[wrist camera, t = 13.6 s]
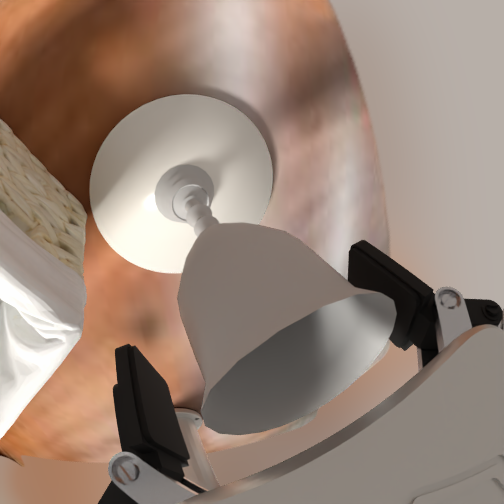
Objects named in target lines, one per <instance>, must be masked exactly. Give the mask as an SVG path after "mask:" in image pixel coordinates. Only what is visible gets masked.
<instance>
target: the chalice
mask: <svg viewBox="0 0 504 504" xmlns="http://www.w3.org/2000/svg"><path fill="white" fill-rule="evenodd" d="M154 196H155V204H156V206H157V208H158V210H159V212H160V213H161V214H162V215H163V216H164V217H165V218H167V219H169V220H171V221H175V222H181V223H188V224H189V225H190V226H192V227H194V232H195V235H196V236H197V239H196V240H195V242H194V244H193V246H192V248H191V249H190V251H189V253H188V255H187V257H186V260H185V264H184V268H183V271H182V276H181V281H180V287H179V292H178V297H177V300H178V305H179V311H180V316H181V319H182V322H183V324H184V327H185V330H186V333H187V336H188V339H189V341H190V344H191V347H192V349H193V352H194V355H195V357H196V360H197V362H198V365H199V367H200V370H201V372H202V375H203V377H204V380H205V382H206V385H205V391H204V396H203V402H202V407H201V414H202V417H203V420H204V423H205V426H207V427H208V428H210V429H212V430H214V431H216V432H218V433H220V434H231V435H244V434H252V433H258V432H263V431H267V430H270V429H273V428H277V427H280V426H283V425H286V424H288V423H290V422H292V421H295V420H297V419H299V418H301V417H303V416H306V415H308V414H309V413H311V412H313V411H315V410H316V409H318V408H320V407H321V406H322V405H324V404H326V403H328V402H329V401H331V400H332V399H333V398H335V397H336V396H337V395H339V394H340V393H341V392H343V391H344V390H345V389H346V388H348V387H349V386H350V385H351V384H352V383H353V382H354V381H356V380H357V379H358V378H359V377H360V376H361V375H362V374H363V373H364V372H365V371H366V370H367V369H368V368H369V366H370V365H371V364H372V363H373V361H374V360H375V359H376V357H377V356H378V355H379V354H380V352H381V351H382V350H383V348H384V346H385V344H386V342H387V341H388V339H389V337H390V335H391V333H392V331H393V328H394V323H395V319H396V315H397V312H396V308H395V304H394V300H392V299H391V298H389V297H387V296H386V295H384V294H382V293H380V292H375V291H370V290H365V289H360V288H356V287H354V286H353V285H352V284H351V283H349V282H348V281H347V280H346V279H345V278H344V277H343V276H342V275H340V274H339V273H338V272H337V271H336V270H335V269H334V268H332V267H331V266H330V265H329V264H328V263H327V262H325V261H324V260H323V259H322V258H321V257H320V256H318V255H317V254H316V253H315V252H314V251H313V250H311V249H310V248H309V247H308V246H307V245H305V244H304V243H303V242H302V241H301V240H299V239H298V238H296V237H294V236H292V235H291V234H289V233H287V232H286V231H282V230H278V229H274V228H270V227H266V226H261V225H257V224H250V223H244V222H240V223H219V221H218V220H217V219H216V218H215V217H213V216H212V211H211V209H210V207H211V204H212V200H213V196H214V185H213V182H212V179H211V177H210V176H209V175H208V174H207V172H206V171H204V170H203V169H201V168H200V167H198V166H194V165H189V164H188V165H179V166H176V167H174V168H172V169H170V170H168V171H167V172H166V173H165V174H164V175H163V176H162V177H161V178H160V180H159V182H158V183H157V185H156V189H155V193H154Z"/></svg>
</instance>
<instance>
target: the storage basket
mask: <svg viewBox="0 0 504 504" xmlns="http://www.w3.org/2000/svg"><path fill="white" fill-rule="evenodd" d="M86 220H87V214H86V212H85V210H84V208H83V206H82V204H81V203H80V202H79V201H78V200H77V199H76V198H75V197H74V196H73V195H72V194H71V193H70V192H69V191H67V190H65V188H64V187H63V185H62V184H61V183H60V182H59V181H58V180H57V179H56V178H55V177H54V176H53V175H51V174H50V173H49V172H48V171H47V169H46V167H45V166H44V165H43V164H42V163H41V162H40V161H39V160H38V159H37V158H36V157H35V156H34V155H33V154H32V153H31V152H30V151H29V150H28V148H27V147H26V146H25V145H24V144H23V143H22V142H21V141H20V140H19V139H18V138H17V137H16V136H15V135H14V134H13V131H12V129H11V128H10V127H9V126H8V125H7V124H6V123H5V122H4V121H3V120H1V119H0V439H1V438H2V437H3V436H4V434H5V433H6V432H7V430H8V429H9V428H10V427H11V425H12V424H13V423H14V422H15V420H16V419H17V417H18V416H19V415H20V413H21V412H22V411H23V409H24V408H25V407H26V406H27V404H28V403H29V402H30V401H31V399H32V398H33V397H34V396H35V395H36V393H37V392H38V391H39V390H40V389H41V387H42V386H43V385H44V384H45V383H46V382H47V380H48V379H49V378H50V377H51V376H52V374H53V373H54V372H55V370H56V369H57V368H58V367H59V365H60V364H61V363H62V362H63V360H64V359H65V358H66V356H67V355H68V354H69V352H70V351H71V350H72V348H73V347H74V346H75V344H76V343H77V342H78V340H79V339H80V338H81V335H82V331H83V322H84V307H85V305H86V299H87V294H86V286H85V284H84V277H83V272H84V270H83V261H84V244H85V241H86V239H85V235H86V232H85V225H86Z"/></svg>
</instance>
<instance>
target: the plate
mask: <svg viewBox="0 0 504 504" xmlns="http://www.w3.org/2000/svg"><path fill="white" fill-rule="evenodd" d="M188 164H189V165H194V166H198V167H200V168H201V169H203V170H204V171H206V172H207V174H208V175H209V176H210V177H211V179H212V182H213V185H214V196H213V200H212V204H211V207H210V209H211V211H212V216H213V217H215V218H216V219H217V220H218V221H219V223H240V222H244V223H250V224H257V225H259V224H260V222H261V220H262V218H263V216H264V214H265V212H266V209H267V207H268V204H269V200H270V196H271V191H272V184H273V170H272V162H271V157H270V153H269V150H268V148H267V145H266V142H265V140H264V138H263V137H262V135H261V133H260V131H259V130H258V129H257V127H256V126H255V125H254V124H253V122H252V121H251V120H250V119H249V118H248V117H247V116H246V115H245V114H243V113H242V112H241V111H239V110H238V109H236V108H235V107H233V106H232V105H230V104H228V103H226V102H224V101H221V100H218V99H215V98H212V97H208V96H203V95H194V94H181V95H172V96H167V97H163V98H160V99H156V100H154V101H151V102H149V103H147V104H144V105H143V106H141V107H139V108H137V109H136V110H134V111H132V112H131V113H130V114H129V115H127V116H126V117H125V118H124V119H122V120H121V121H120V122H119V123H118V124H117V125H116V126H115V127H114V128H113V130H112V131H111V132H110V133H109V135H108V136H107V138H106V139H105V140H104V142H103V144H102V146H101V147H100V149H99V151H98V153H97V156H96V159H95V161H94V164H93V168H92V172H91V178H90V191H89V193H90V204H91V209H92V213H93V217H94V219H95V222H96V224H97V227H98V229H99V230H100V232H101V234H102V236H103V237H104V239H105V240H106V241H107V242H108V244H109V245H110V246H111V247H112V248H113V249H114V250H115V251H116V252H117V253H118V254H119V255H121V256H122V257H123V258H125V259H126V260H128V261H129V262H131V263H133V264H135V265H137V266H139V267H142V268H145V269H148V270H152V271H156V272H162V273H182V271H183V268H184V264H185V260H186V257H187V255H188V253H189V251H190V249H191V248H192V246H193V244H194V242H195V240H196V239H197V236H196V235H195V232H194V227H192V226H190V225H189V224H188V223H181V222H175V221H171V220H169V219H167V218H165V217H164V216H163V215H162V214H161V213H160V212H159V210H158V208H157V206H156V204H155V196H154V193H155V189H156V185H157V183H158V182H159V180H160V178H161V177H162V176H163V175H164V174H165V173H166V172H167V171H168V170H170V169H172V168H174V167H176V166H179V165H188Z"/></svg>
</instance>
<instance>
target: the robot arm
mask: <svg viewBox="0 0 504 504" xmlns="http://www.w3.org/2000/svg"><path fill="white" fill-rule="evenodd" d="M348 282H349V283H351V284H352V285H353V286H354V287H356V288H360V289H365V290H370V291H375V292H380V293H382V294H384V295H386V296H387V297H389V298H391V299H392V300H394V304H395V308H396V312H397V315H396V319H395V323H394V328H393V331H392V333H391V335H390V337H389V339H390V340H391V341H392V342H393V343H394V344H395V345H396V346H397V347H399V348H402V349H403V350H404V351H405V350H407V349H408V348H409V347H410V346H411V345H413V344H414V345H415V346H417V355H418V369H419V372H418V373H417V374H416V375H415V376H414V377H413V378H411V379H410V380H409V381H408V382H407V383H405V384H404V385H403V386H402V387H401V388H399V389H398V390H397V391H396V392H394V393H393V394H392V395H391V396H389V397H388V398H387V399H385V400H384V401H383V402H381V403H380V404H379V405H377V406H376V407H375V408H373V409H372V410H370V411H369V412H368V413H366V414H365V415H363V416H362V417H361V418H359V419H357V420H356V421H354V422H353V423H351V424H350V425H348V426H347V427H345V428H343V429H342V430H340V431H339V432H337V433H335V434H334V435H332V436H330V437H329V438H327V439H325V440H323V441H322V442H320V443H318V444H316V445H314V446H313V447H311V448H309V449H307V450H305V451H303V452H301V453H299V454H298V455H295V456H293V457H291V458H289V459H287V460H285V461H283V462H281V463H279V464H277V465H274V466H272V467H270V468H268V469H265V470H263V471H261V472H258V473H255V474H253V475H251V476H248V477H246V478H243V479H240V480H238V481H235V482H233V483H230V484H227V485H224V486H221V487H220V485H219V483H218V480H217V478H216V476H215V474H214V471H213V469H212V466H211V464H210V462H209V459H208V457H207V454H206V452H205V449H204V447H203V444H202V441H201V439H200V436H199V433H198V431H197V429H199V428H200V426H201V425H202V423H203V422H202V418H201V415H200V414H199V413H198V412H196V411H193V410H190V409H184V408H174V406H173V403H172V399H171V395H170V392H169V388H168V385H167V383H166V381H165V380H164V379H163V378H162V377H161V376H160V374H159V373H158V372H157V371H156V370H155V369H154V368H153V366H152V365H151V364H150V363H149V362H148V360H147V359H146V358H145V357H144V356H143V354H142V353H141V352H140V351H139V350H138V348H137V347H136V346H131V345H130V344H127V345H124V346H121V347H119V348H116V349H115V359H116V372H117V382H118V384H116V385H114V387H113V396H114V405H115V412H116V419H117V426H118V432H119V437H120V443H121V448H122V452H120V453H117V454H115V455H114V456H113V457H112V458H111V460H110V462H109V467H108V471H109V475H110V478H111V480H112V481H111V483H110V484H109V486H108V488H107V489H106V491H105V493H104V494H103V496H102V498H101V499H100V501H99V503H98V504H504V309H503V311H502V309H501V308H500V306H499V305H498V304H497V303H496V302H494V301H492V300H482V299H481V300H480V299H464V298H463V296H462V295H461V293H460V292H459V291H457V290H456V289H454V288H451V287H442V288H440V289H438V290H437V291H436V294H434V293H433V289H432V288H430V287H429V286H428V285H427V284H425V283H424V282H422V281H421V280H420V279H419V278H417V277H416V276H415V275H413V274H412V273H410V272H409V271H408V270H407V269H405V268H404V267H402V266H401V265H400V264H398V263H397V262H395V261H394V260H393V259H391V258H390V257H388V256H387V255H386V254H384V253H383V252H381V251H380V250H378V249H377V248H375V247H374V246H373V245H371V244H370V243H368V242H367V241H365V240H361V241H359V242H357V243H355V244H353V245H352V246H351V250H350V251H349V266H348Z"/></svg>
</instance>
